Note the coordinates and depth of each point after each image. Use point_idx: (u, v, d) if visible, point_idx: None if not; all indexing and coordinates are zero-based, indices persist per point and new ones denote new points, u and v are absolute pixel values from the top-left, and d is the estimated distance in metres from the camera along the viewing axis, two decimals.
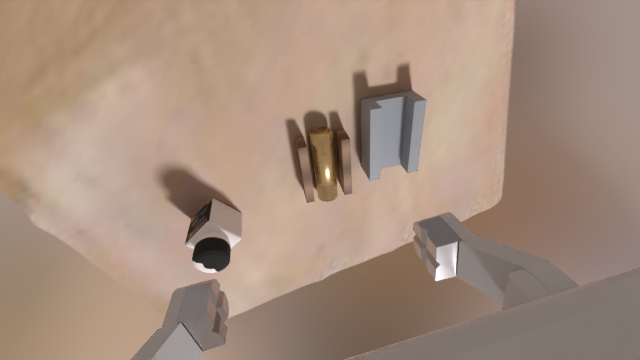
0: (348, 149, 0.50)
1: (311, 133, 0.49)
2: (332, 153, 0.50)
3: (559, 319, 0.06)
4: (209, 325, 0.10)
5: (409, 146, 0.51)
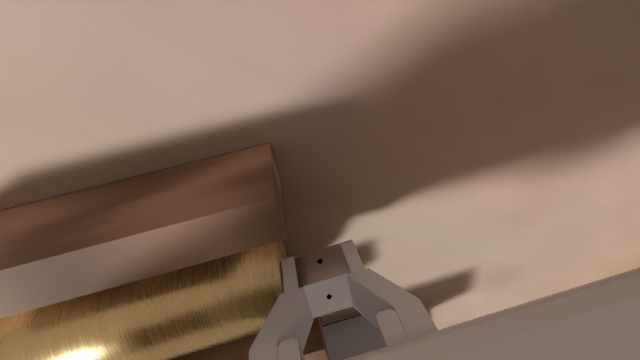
0: None
1: None
2: None
3: (559, 319, 0.06)
4: (325, 290, 0.10)
5: None
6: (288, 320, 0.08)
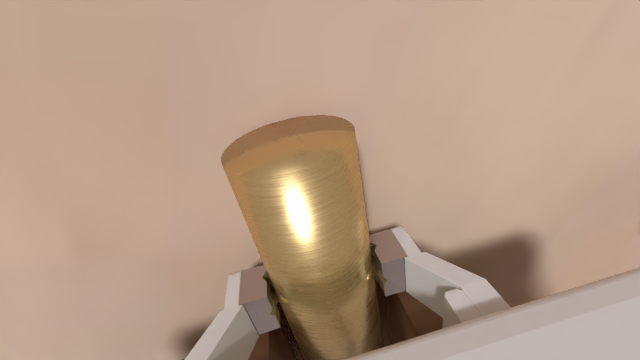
0: None
1: None
2: None
3: (559, 319, 0.06)
4: (268, 307, 0.10)
5: None
6: (220, 340, 0.08)
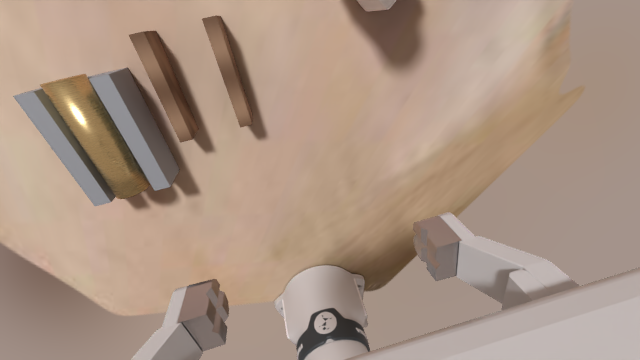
0: (175, 126, 0.34)
1: (146, 185, 0.37)
2: None
3: (559, 319, 0.06)
4: (209, 324, 0.10)
5: (69, 140, 0.32)
6: None
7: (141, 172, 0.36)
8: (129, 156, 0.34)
